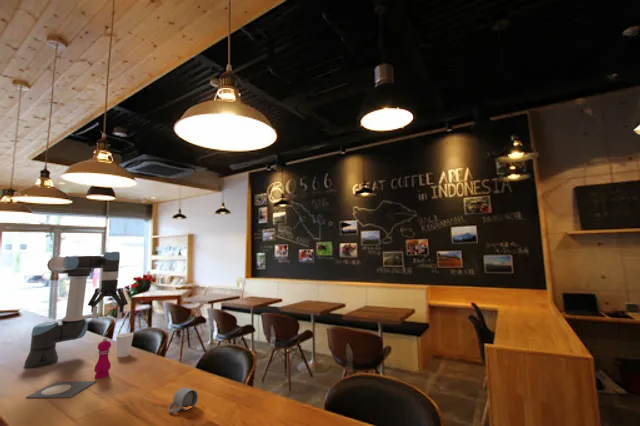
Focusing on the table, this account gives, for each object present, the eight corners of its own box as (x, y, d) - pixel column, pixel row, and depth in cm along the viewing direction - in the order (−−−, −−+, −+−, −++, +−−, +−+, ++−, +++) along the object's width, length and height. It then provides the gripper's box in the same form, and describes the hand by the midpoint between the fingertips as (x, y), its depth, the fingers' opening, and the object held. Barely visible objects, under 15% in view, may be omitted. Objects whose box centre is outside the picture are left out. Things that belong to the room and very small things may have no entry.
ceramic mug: (187, 401, 139) (187, 383, 140) (197, 406, 135) (198, 387, 136) (164, 411, 131) (164, 392, 132) (174, 417, 126) (175, 397, 127)
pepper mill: (113, 374, 169) (116, 336, 171) (100, 380, 162) (103, 340, 165) (103, 373, 171) (106, 335, 174) (90, 378, 165) (93, 339, 167)
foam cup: (135, 353, 204) (136, 333, 206) (125, 358, 195) (126, 336, 197) (121, 353, 205) (123, 332, 207) (111, 357, 196) (112, 336, 198)
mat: (25, 398, 142) (26, 396, 142) (56, 382, 159) (56, 381, 159) (70, 397, 142) (70, 396, 143) (95, 382, 159) (96, 380, 159)
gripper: (82, 280, 169) (78, 320, 166) (128, 279, 170) (125, 319, 167) (92, 278, 177) (88, 317, 174) (136, 278, 177) (133, 316, 174)
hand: (106, 318), depth 170 cm, fingers open, 13 cm apart
